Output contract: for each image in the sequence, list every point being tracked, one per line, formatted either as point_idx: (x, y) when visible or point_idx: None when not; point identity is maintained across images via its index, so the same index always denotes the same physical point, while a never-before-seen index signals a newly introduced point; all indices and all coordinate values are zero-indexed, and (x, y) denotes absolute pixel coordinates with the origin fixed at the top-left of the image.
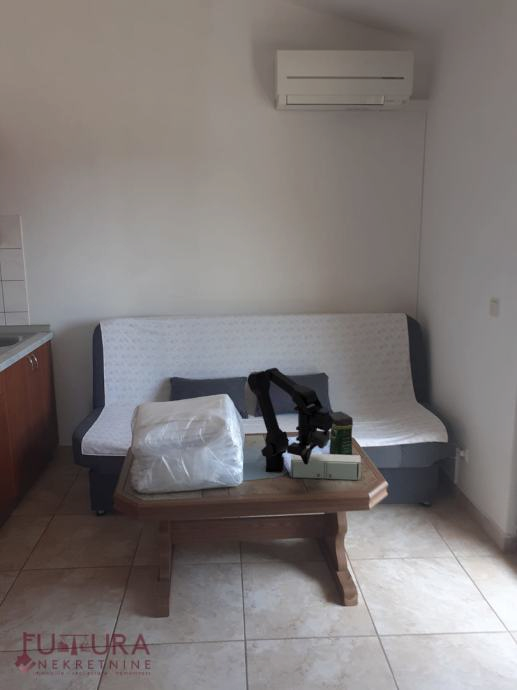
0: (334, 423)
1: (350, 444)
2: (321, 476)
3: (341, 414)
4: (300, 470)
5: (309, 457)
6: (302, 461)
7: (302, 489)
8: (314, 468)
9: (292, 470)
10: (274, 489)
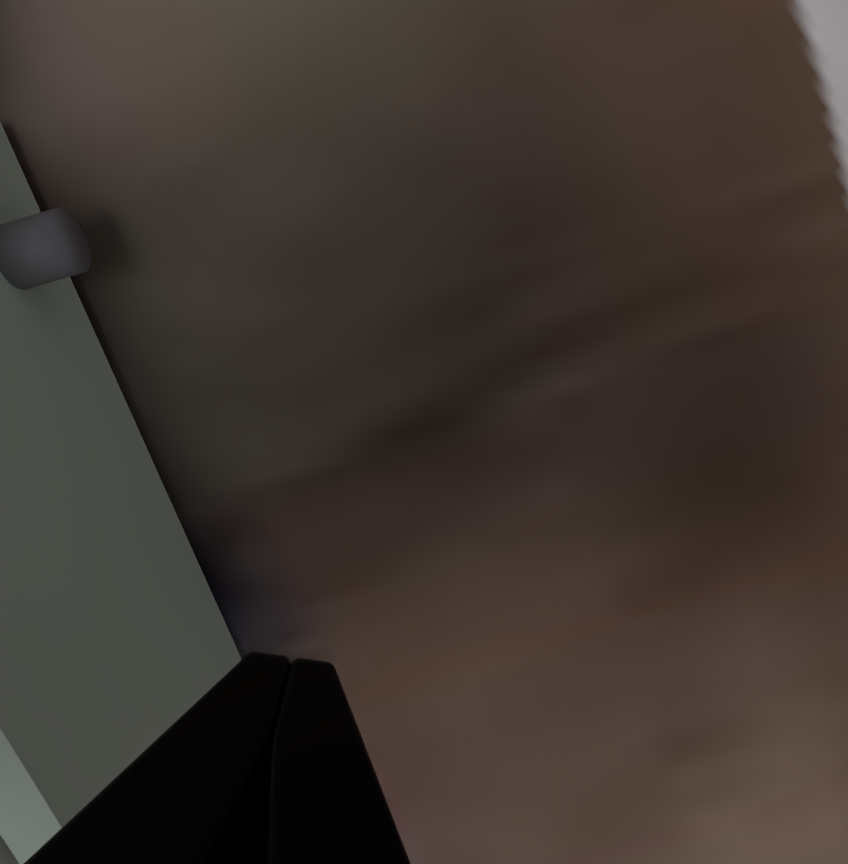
0: None
1: None
2: (1, 180)
3: None
4: (159, 661)
5: (130, 821)
6: (26, 806)
7: (618, 404)
8: None
9: None
10: (729, 781)
